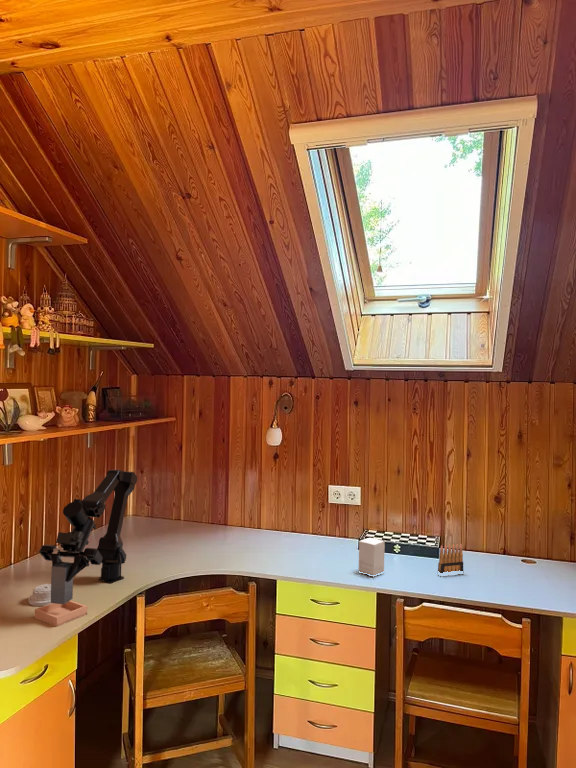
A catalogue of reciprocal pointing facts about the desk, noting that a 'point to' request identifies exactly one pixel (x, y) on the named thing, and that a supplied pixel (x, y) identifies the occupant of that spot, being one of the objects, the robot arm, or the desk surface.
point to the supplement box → (371, 556)
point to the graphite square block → (61, 583)
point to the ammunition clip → (450, 559)
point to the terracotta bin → (60, 612)
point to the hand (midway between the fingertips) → (59, 580)
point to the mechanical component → (41, 595)
